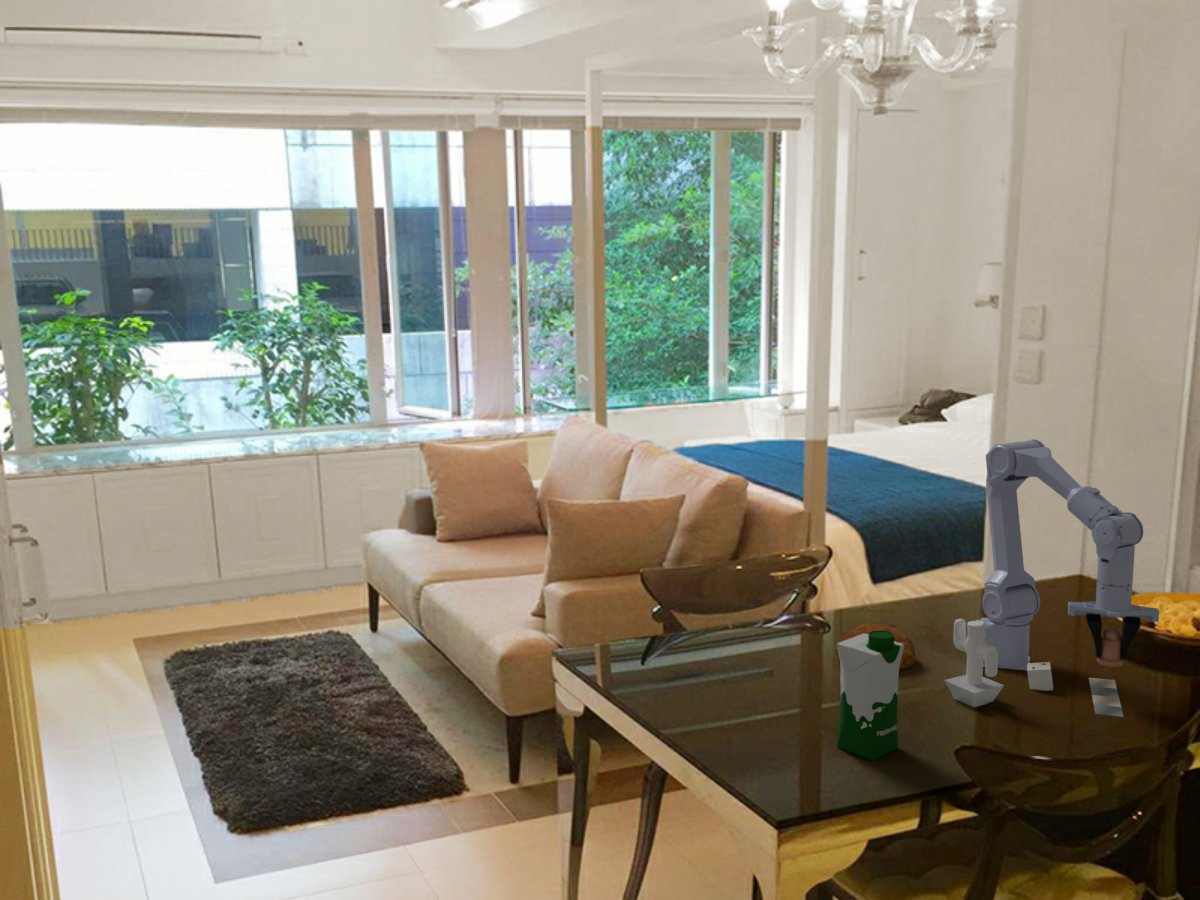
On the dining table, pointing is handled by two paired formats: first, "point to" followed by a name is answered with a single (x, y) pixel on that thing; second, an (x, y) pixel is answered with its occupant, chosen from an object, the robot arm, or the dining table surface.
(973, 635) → the figurine
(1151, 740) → the dining table surface
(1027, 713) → the dining table surface
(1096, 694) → the board
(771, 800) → the dining table surface
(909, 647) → the croissant
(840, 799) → the dining table surface
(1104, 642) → the pawn
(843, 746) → the milk carton
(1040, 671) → the die
